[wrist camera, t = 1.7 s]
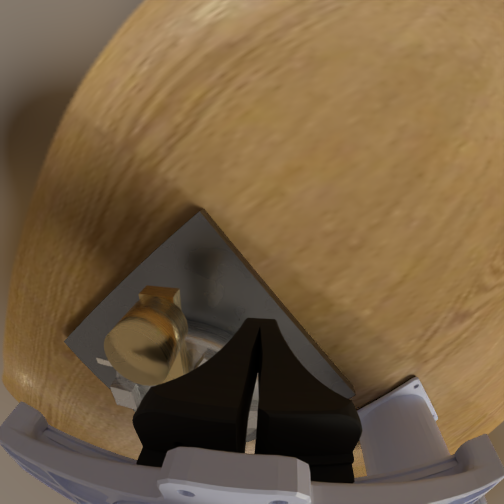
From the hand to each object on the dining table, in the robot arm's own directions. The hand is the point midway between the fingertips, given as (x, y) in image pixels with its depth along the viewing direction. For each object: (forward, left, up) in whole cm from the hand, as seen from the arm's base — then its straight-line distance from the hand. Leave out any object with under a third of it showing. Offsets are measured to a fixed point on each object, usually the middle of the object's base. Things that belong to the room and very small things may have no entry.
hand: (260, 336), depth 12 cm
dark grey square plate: (-3, +9, -6) cm, 11 cm away
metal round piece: (-1, +8, -5) cm, 9 cm away
